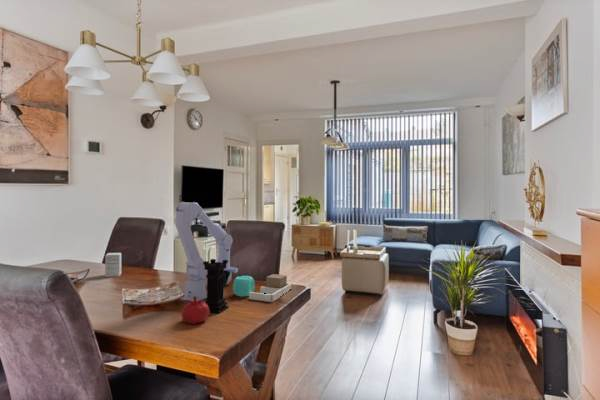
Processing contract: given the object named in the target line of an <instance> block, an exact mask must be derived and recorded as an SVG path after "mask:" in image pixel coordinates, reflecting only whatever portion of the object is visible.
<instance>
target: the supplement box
mask: <svg viewBox="0 0 600 400" xmlns="http://www.w3.org/2000/svg"><path fill="white" fill-rule="evenodd" d="M104 257H105V262H104V263H105V265H104V266H105V268H104V269H105V270H104V273H105V274H104V275H105V278H115V277H120V276H121V275H122V252H107V253H106V254H105V256H104Z"/></svg>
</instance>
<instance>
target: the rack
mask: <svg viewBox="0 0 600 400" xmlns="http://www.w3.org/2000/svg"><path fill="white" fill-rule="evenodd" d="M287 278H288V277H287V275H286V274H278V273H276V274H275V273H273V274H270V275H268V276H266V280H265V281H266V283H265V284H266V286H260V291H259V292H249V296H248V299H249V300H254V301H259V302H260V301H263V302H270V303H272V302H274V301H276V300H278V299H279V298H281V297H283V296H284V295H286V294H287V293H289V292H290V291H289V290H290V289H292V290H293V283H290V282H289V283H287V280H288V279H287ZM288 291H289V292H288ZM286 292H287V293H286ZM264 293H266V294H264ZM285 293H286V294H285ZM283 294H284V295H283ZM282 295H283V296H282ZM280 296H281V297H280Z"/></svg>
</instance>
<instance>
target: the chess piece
mask: <svg viewBox="0 0 600 400" xmlns="http://www.w3.org/2000/svg"><path fill="white" fill-rule="evenodd" d="M216 261H217V260H216V258H210V261H206V260H204V262H203V265H205V270H207V275H206V278H207V279H206V295H207V298H206V300H203V301H204V302H205V303H207V305H208V306H209V309H210V313H209V314H222V312H224V311H226V310H228V309H229V305H228V302H227V298H224V288H225V286H224V276H225V274H224V269H225V268H226V264H227V263H228V260H223V263H221V262H218V261H217V262H216Z"/></svg>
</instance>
